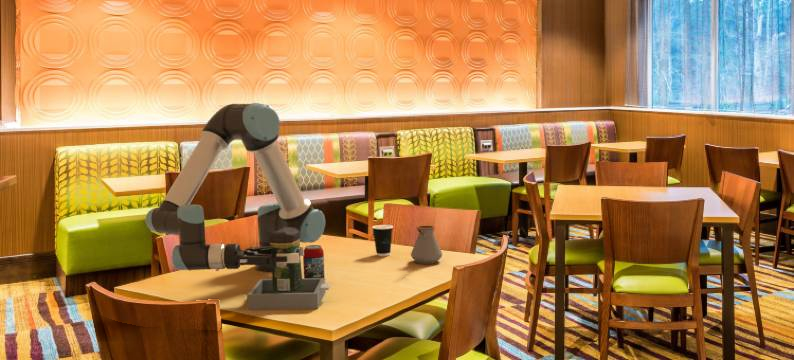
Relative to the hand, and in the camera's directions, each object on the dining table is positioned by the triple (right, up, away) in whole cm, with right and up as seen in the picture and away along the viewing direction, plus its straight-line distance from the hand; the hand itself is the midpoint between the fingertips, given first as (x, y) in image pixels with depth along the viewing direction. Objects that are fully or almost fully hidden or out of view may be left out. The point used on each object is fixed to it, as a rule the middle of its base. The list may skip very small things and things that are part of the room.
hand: (301, 254), depth 224 cm
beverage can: (+1, -12, +24) cm, 26 cm away
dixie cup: (+23, -7, +64) cm, 68 cm away
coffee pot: (+38, -8, +45) cm, 60 cm away
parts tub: (-3, -14, +2) cm, 15 cm away
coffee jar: (-4, -11, +1) cm, 12 cm away
